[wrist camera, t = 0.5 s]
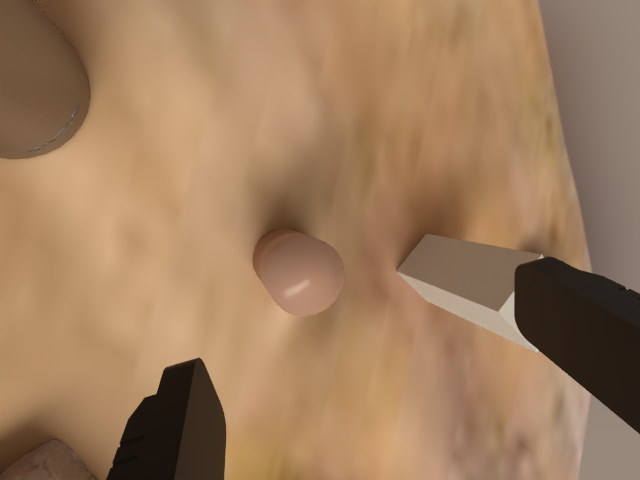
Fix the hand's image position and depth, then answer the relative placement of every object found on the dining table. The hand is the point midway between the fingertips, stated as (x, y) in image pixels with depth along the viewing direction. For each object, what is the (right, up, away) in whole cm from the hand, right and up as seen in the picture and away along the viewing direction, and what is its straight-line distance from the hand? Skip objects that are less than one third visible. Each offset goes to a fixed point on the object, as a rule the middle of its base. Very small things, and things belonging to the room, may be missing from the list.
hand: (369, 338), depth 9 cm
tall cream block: (+9, 0, +25) cm, 26 cm away
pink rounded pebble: (-4, +1, +20) cm, 21 cm away
